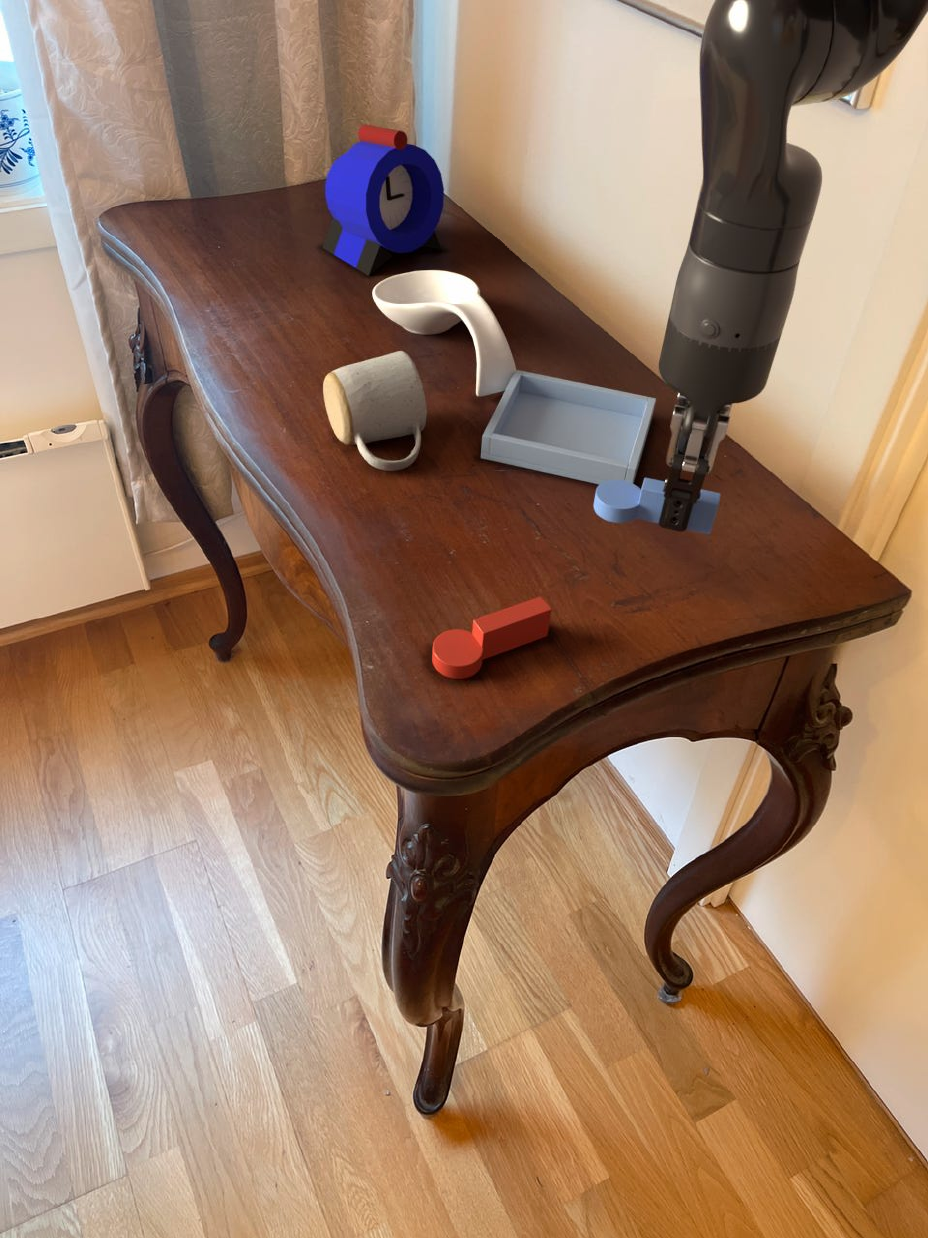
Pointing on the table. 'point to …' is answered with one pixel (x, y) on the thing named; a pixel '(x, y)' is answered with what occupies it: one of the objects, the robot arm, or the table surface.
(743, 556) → the table surface
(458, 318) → the spoon rest
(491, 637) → the red disc with bar
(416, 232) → the alarm clock
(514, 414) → the blue tray
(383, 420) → the ceramic mug
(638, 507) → the blue spoon
